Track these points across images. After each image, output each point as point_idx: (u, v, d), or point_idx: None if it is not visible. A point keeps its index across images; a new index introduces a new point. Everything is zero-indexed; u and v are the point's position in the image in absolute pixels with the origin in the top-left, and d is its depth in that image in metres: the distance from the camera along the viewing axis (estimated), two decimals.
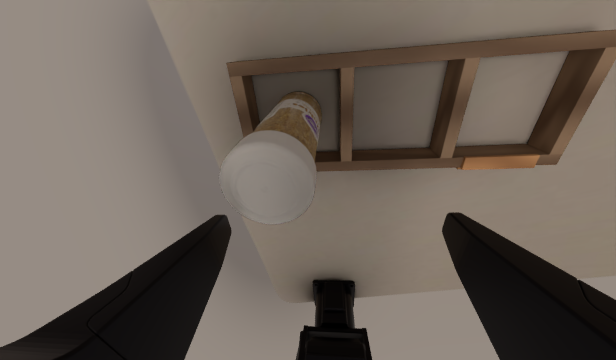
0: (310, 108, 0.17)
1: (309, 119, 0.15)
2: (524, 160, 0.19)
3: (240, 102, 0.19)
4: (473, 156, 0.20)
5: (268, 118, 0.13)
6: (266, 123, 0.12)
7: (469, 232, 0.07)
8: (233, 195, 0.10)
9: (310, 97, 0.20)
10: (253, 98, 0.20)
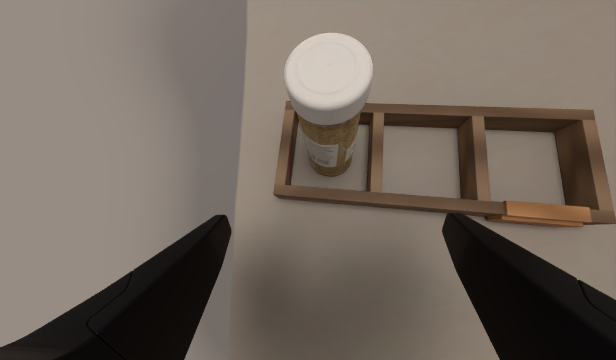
0: None
1: None
2: (574, 211, 0.18)
3: (286, 127, 0.22)
4: None
5: None
6: None
7: (469, 232, 0.07)
8: (295, 70, 0.11)
9: None
10: (295, 136, 0.24)
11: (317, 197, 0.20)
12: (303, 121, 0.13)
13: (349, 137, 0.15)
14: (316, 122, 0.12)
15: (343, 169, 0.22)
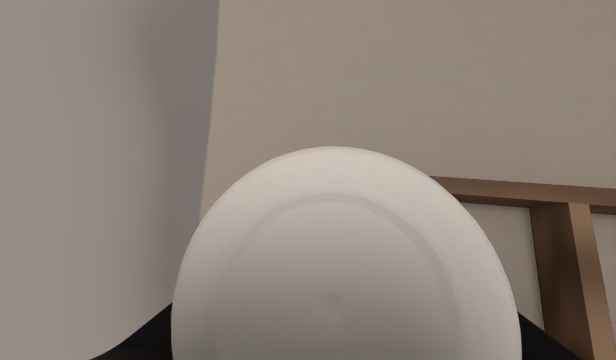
0: None
1: None
2: None
3: None
4: None
5: None
6: None
7: None
8: (205, 312, 0.03)
9: None
10: None
11: None
12: None
13: None
14: None
15: None
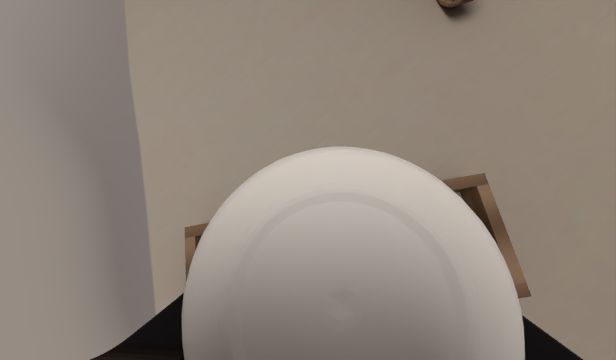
0: None
1: None
2: None
3: (190, 259, 0.20)
4: None
5: None
6: None
7: None
8: (217, 310, 0.03)
9: None
10: None
11: None
12: None
13: None
14: None
15: None
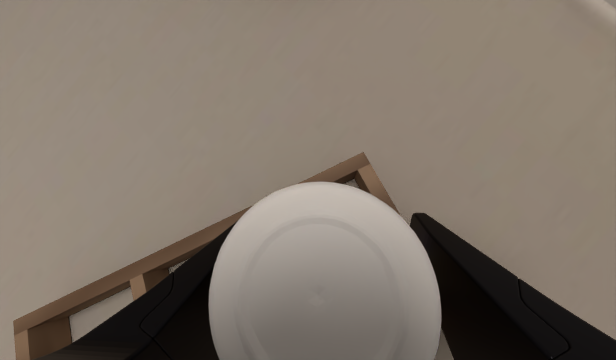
0: None
1: None
2: None
3: None
4: None
5: None
6: None
7: (428, 232, 0.07)
8: (233, 301, 0.04)
9: None
10: (63, 347, 0.17)
11: None
12: None
13: None
14: None
15: None
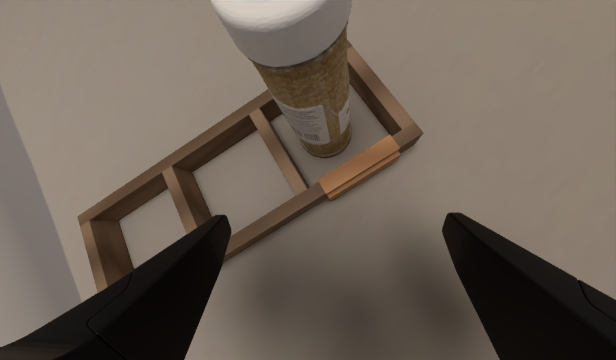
0: None
1: None
2: (380, 147, 0.15)
3: (89, 244, 0.19)
4: None
5: None
6: None
7: (469, 232, 0.07)
8: None
9: None
10: (117, 240, 0.21)
11: None
12: (262, 72, 0.09)
13: (337, 92, 0.11)
14: (273, 62, 0.08)
15: (342, 146, 0.18)
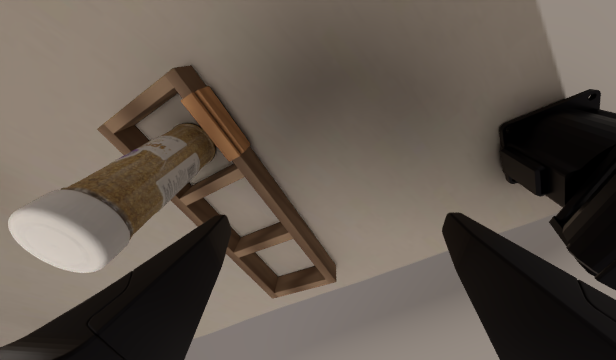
0: None
1: None
2: (193, 110, 0.18)
3: (288, 292, 0.30)
4: None
5: None
6: None
7: (469, 232, 0.07)
8: (76, 268, 0.12)
9: None
10: (289, 277, 0.31)
11: (320, 261, 0.26)
12: (137, 229, 0.14)
13: (143, 172, 0.14)
14: (126, 233, 0.12)
15: (202, 133, 0.21)
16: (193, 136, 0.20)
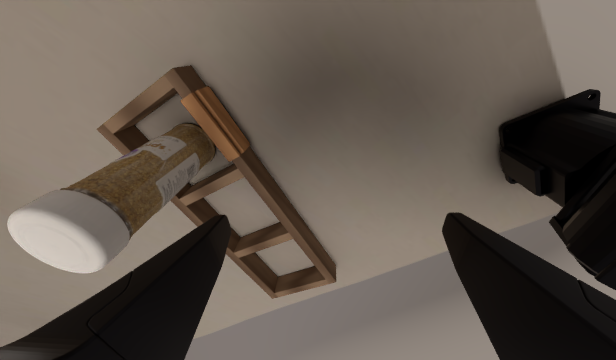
0: None
1: (120, 158, 0.16)
2: (193, 110, 0.18)
3: (288, 292, 0.30)
4: None
5: None
6: None
7: (469, 232, 0.07)
8: (76, 268, 0.12)
9: None
10: (289, 277, 0.31)
11: (320, 261, 0.26)
12: (137, 230, 0.14)
13: (142, 173, 0.14)
14: (125, 234, 0.12)
15: (201, 133, 0.21)
16: (193, 136, 0.20)
